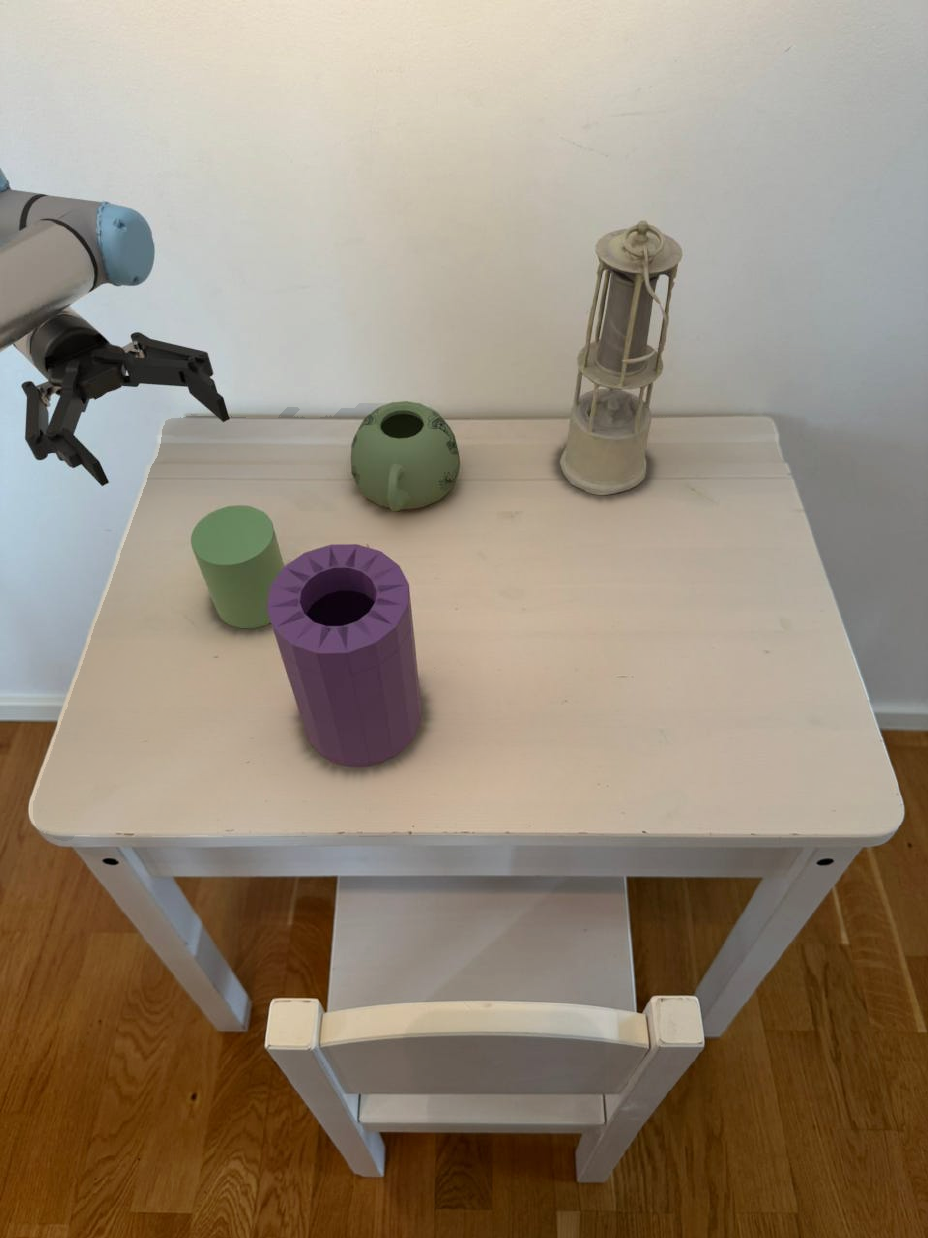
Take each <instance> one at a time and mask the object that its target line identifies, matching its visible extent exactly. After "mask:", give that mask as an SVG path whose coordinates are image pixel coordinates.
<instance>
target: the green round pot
mask: <svg viewBox="0 0 928 1238" xmlns="http://www.w3.org/2000/svg"><path fill="white" fill-rule="evenodd" d="M350 448H351V449H350V470H351V471H350V472H351V475H352V478H353V480H354V482H355V485H356V486H357V488H358V489H359V490H360V493H361V494H362V495H363V497H364V498H366V499H368V500H369V501H371V502H373V503H375V504H376V505H378V506H380V507H385V508H389V510H390V511H392V512H398V511H400V510H409V509H421V508H423V507H426V506H428V505H431V504H433V503H436V502H438V501H440V500H441V499H442V498H443V497H445V496H446V495H447V494H448V493H450V491H452V490H453V488H454V486H455V483H456V481H457V478H458V476H459V472H460V467H461V458H460V452H459V448H458V443H457V439H456V435H455V434H454V431H453V430H452V428H451V427H450V425H449V424H448V423H447V422H446V421H445V419H444V418H443V417H442V415H441V414H440V413H439V412H438V411H437V410H434V409H433V408H431V407H429V406H426V405H425V404H422V403H420V402H414V401H408V400H404V401H392V402H389V403H387V404H384V405H381V406H379V407H377V408H375V410H373V411H371V413H369V414H368V415H367V416H365V417H364V418H363V420H362V421H361V423H360V425H359V427H358V429H357V431H356V433H355V435H354V436H353V439H352V442H351V447H350Z"/></svg>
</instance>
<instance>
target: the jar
mask: <svg viewBox="0 0 928 1238" xmlns="http://www.w3.org/2000/svg"><path fill="white" fill-rule="evenodd" d="M266 609H267V612H268V615H269V618H270V622H271V623H270V625H271V628H272V631H273V634H274V637H275V640H276V644H277V647H278V651H279V653H280V656H281V659H282V662H283V666H284V669H285V672H286V675H287V678H288V682H289V685H290V688H291V691H292V694H293V697H294V700H295V704H296V707H297V711H298V713H299V716H300V720H301V722H302V726H303V729H304V732H305V734H306V738H307V740H308V741H309V743H310V744H311V746H312V748H314V750H315V751H316V752H317V753H318V754H320V755H321V756H322V757H324V758H325V759H327V760H329V761H330V762H333V763H335V764H339V765H342V766H346V767H358V768H359V767H368V766H374V765H377V764H381V763H384V762H386V761H389V760H390V759H393V758H394V757H396V756H397V755H398V754H400V753H401V752H402V751H404V750H405V748H406V747H407V746H408V745H409V744H410V743H411V742H412V740H413V739H414V737H415V735H416V733H417V732H418V729H419V726H420V723H421V718H422V717H421V716H422V709H421V708H422V699H421V690H420V678H419V670H418V660H417V650H416V642H415V630H414V620H413V611H412V602H411V591H410V584H409V582H408V579H407V578H406V575H405V574H404V571H403V570H402V568H401V566H400V565H399V564H398V563H397V562H395V561H394V560H393V559H392V558H390V557H389V556H387V554H385V553H384V552H382V551H381V550H378V549H375V548H371V547H368V546H364V545H361V544H357V543H349V544H348V543H347V544H346V543H343V544H341V543H340V544H329V545H324V546H322V547H321V546H320V547H319V548H315V549H312V550H309V551H305V552H303V553H302V554H300V555H299V556H298V557H296V558H295V559H293V560H291V561H290V562H289V563H287V564H286V565H284V568H283V569H282V570H281V572H280V573H279V575H278V576H277V578H276V579H275V580H274V582H273V583H272V585H271V587H270V590H269V596H268V602H267V607H266Z"/></svg>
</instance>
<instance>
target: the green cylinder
mask: <svg viewBox="0 0 928 1238" xmlns="http://www.w3.org/2000/svg"><path fill="white" fill-rule="evenodd" d="M190 545H191V549H192V552H193V554H194V556H195V559H196V561H197V564H198V567H199V569H200V572H201V573H202V574H201V575H202V578H203V580H204V582H205V585H206V588H207V590H208V592H209V595H210V598H211V600H212V603H213V605H214V608H215V611H216V613H217V615H218V616H219V617H220V619H221V620H222V621H223V622H224V623H226V624H228V625H230V626H232V627H235V628H239V629H257V628H260V627H265V626H267V625H270V624H271V622H270V618H269V615H268V612H267V609H266V607H267V602H268V596H269V590H270V587H271V585H272V583H273V582H274V580H275V579H276V578H277V576H278V575H279V573H280V572H281V570H282V569H283V568H284V566H285V564H284V560H283V557H282V553H281V549H280V545H279V542H278V537H277V534H276V531H275V527H274V524H273V521H272V520H271V518H270V517H269V515H268V514H267V513H266V512H264V511H263V510H261V509H259V508H257V507H254V506H250V505H243V504H241V505H238V504H237V505H229V506H225V507H221V508H218V509H215V510H214V511H212V512H209V513H208V514H207V515H205V516H204V517H202V518H201V519H200V520H199V521H198V523H197V524H196V525H195V526H194V529H193V530H192V532H191V537H190Z"/></svg>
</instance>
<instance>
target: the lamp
mask: <svg viewBox="0 0 928 1238" xmlns="http://www.w3.org/2000/svg"><path fill="white" fill-rule="evenodd" d="M595 255H597V258H598V261H599V264H598V266H597V270H596V275H597V279H596V283H595V289H594V294H593V298H592V303H591V306H590V311H589V312H588V311H586V313H589V316H588V322H587V329H586V336H585V337H586V338H585V344H584V346H583V347H582V348H581V349H580V350H579V352H578V355H577V357H576V365H577V367H578V369H577V376H576V384H575V391H574V397H573V403H572V406H571V410H570V420H569V427H568V432H567V433H568V434H567V439H566V446H565V449H564V450H563V452H562V454H561V457H560V459H559V466H560V468H561V472H562V473H563V476H564V477H565V478H566V480H567V481H568V482H569V484H571V485H572V486H574V487H576V488H578V489H580V490H582V491H584V492H586V493H588V494H591V495H592V494H593V495H597V496H606V495H607V496H608V495H614V494H618V493H621V492H625V491H628V490H631V489H634V487H637V486H638V485H639V484H640V483H642V482H643V481H644V479H645V477H646V474H647V459H646V451H647V445H648V440H649V439H648V438H649V433H650V429H651V428H650V427H651V424H652V411H651V408H650V405H651V404H650V403H651V397H652V392H653V387H654V382H656V381H657V379H659V378H660V376H661V375H662V374H663V371H664V361H663V358H662V354H663V352H664V351H665V346H666V342H667V333H668V327H669V323H670V322H669V321H670V317H669V313H670V312H669V311H670V302H671V299H672V290H673V288H674V287H675V281H674V280H675V279H676V277H677V272H678V267H679V266H678V265H679V263H680V262H681V260H682V258H683V249H682V247H681V245H680V243H678V242H677V241H676V240H675V239H674V238H673V237H671V236H669V235H666V234H665V233H662V231H661V230H660V229H659V228H658V227H657V226H655V225H653V224H649V223H648V221H647V220H640V221H638V223H637V224H634V225H632V226H630V227H628V228H622V229H619V230H618V229H617V230H613V231H611V232H608V233H606V234H604V235H603V236H602V237H600V238H599V239H598V241H597V242H596V244H595ZM604 271H605V273H604ZM603 274H604V279H603V285H602V289H601V284H602V278H603ZM662 275H663V276H667V277H668V280H667V281H668V283H667V293H666V299H665V308H663V307H662V302H661V300H660V298H659V297H658V296H657V294H656V289H657V283H658V281H659V279H660V276H662ZM600 289H601V294H600ZM599 295H601V296H600V301H599V302H600V303H599V308H598V315H597V322H596V326H595V334H594V340H593V341H592V342H591V340H592V333H593V326H594V320H595V315H596V310H597V305H598V300H599ZM654 301H655V303H657V304H658V305H659V308H660V310H661V312H662V313H661V314H662V316H663V317H662V323H661V329H660V334H659V335H660V336H659V341H658V346H657V348H656V349H654V348H653V347H652V346H651V345H649V344H648V338H649V333H650V325H651V317H652V310H653V302H654ZM605 307H606V308H605ZM602 324H603V325H602ZM583 377H584V378H587V379H588V381H590V382H591V383H593V384H594V385H593V390H590V391H588V392H585V393H583V394H581V389H582V380H583V379H582V378H583ZM600 387H603V388H600ZM645 388H646V395H645V393H644V392H645ZM634 389H639V394H638V395H636V394H634V393H632V392H629V391H631V390H634ZM627 390H629V391H627ZM644 395H645V400H643V397H644Z"/></svg>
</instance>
